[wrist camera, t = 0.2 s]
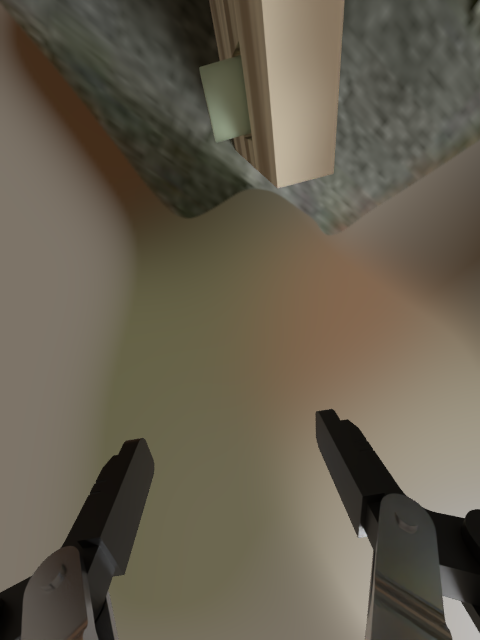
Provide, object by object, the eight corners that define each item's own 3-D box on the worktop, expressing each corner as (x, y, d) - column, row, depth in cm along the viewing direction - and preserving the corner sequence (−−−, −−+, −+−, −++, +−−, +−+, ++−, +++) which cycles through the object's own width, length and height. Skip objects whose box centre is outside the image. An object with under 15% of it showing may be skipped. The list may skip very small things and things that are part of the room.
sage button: (214, 141, 19) (216, 144, 16) (199, 72, 16) (198, 61, 13) (261, 128, 19) (271, 129, 16) (253, 56, 16) (264, 41, 13)
